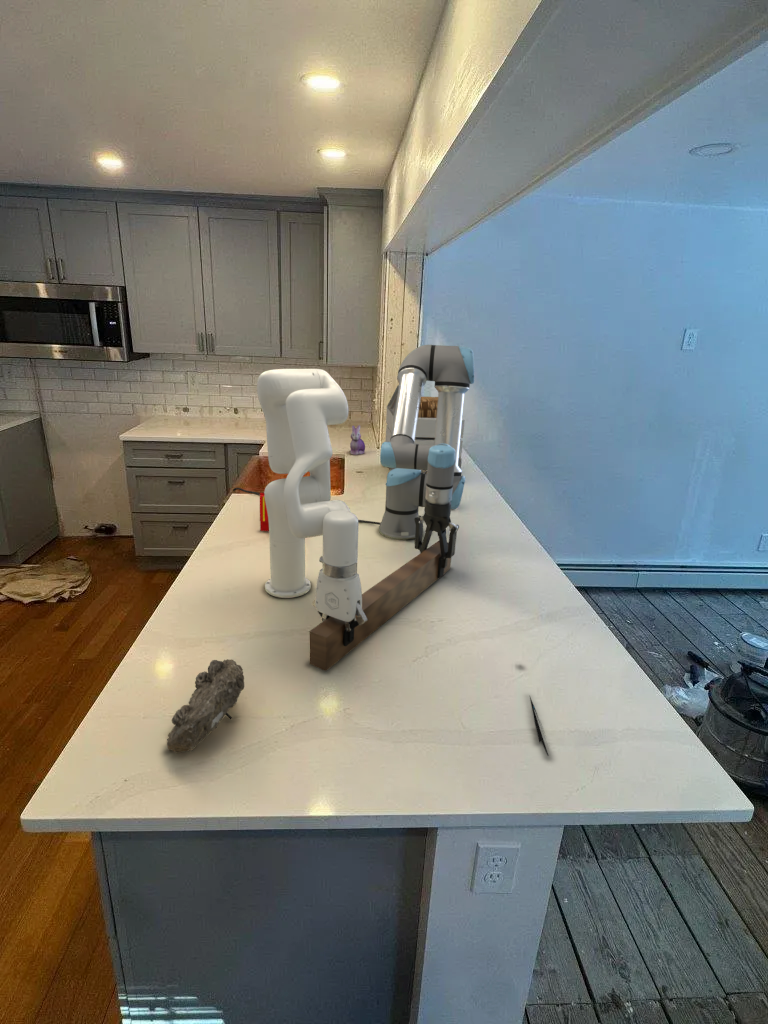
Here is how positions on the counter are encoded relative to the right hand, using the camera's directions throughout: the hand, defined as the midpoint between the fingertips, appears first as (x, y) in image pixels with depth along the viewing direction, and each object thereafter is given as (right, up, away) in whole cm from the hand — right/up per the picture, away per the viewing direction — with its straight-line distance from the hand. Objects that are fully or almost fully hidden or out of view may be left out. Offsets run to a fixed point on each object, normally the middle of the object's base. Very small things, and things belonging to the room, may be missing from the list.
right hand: (432, 574), depth 169 cm
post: (-12, -7, -19) cm, 24 cm away
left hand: (-25, -10, -40) cm, 48 cm away
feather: (+16, -21, -55) cm, 60 cm away
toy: (-53, +16, +40) cm, 69 cm away
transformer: (+3, +37, +106) cm, 112 cm away
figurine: (-29, +50, +138) cm, 150 cm away
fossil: (-47, -21, -61) cm, 80 cm away
